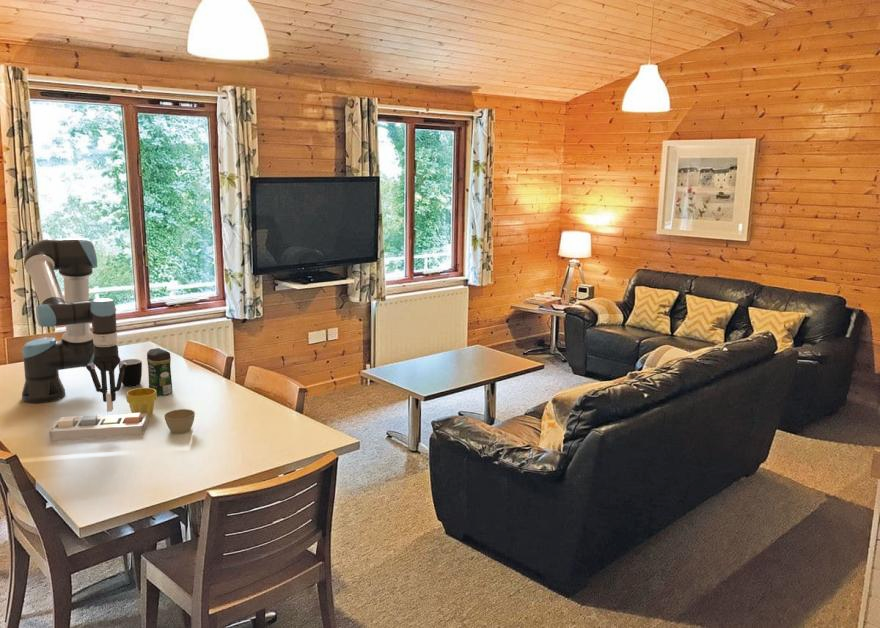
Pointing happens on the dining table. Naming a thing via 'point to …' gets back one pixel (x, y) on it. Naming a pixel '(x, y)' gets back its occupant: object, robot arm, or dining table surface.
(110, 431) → the keypad
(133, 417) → the key terracotta
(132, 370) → the mug
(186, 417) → the flower pot
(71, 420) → the key cream
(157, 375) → the coffee jar
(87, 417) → the key slate
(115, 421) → the key sage
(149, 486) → the dining table surface
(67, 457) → the dining table surface
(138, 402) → the plant pot
